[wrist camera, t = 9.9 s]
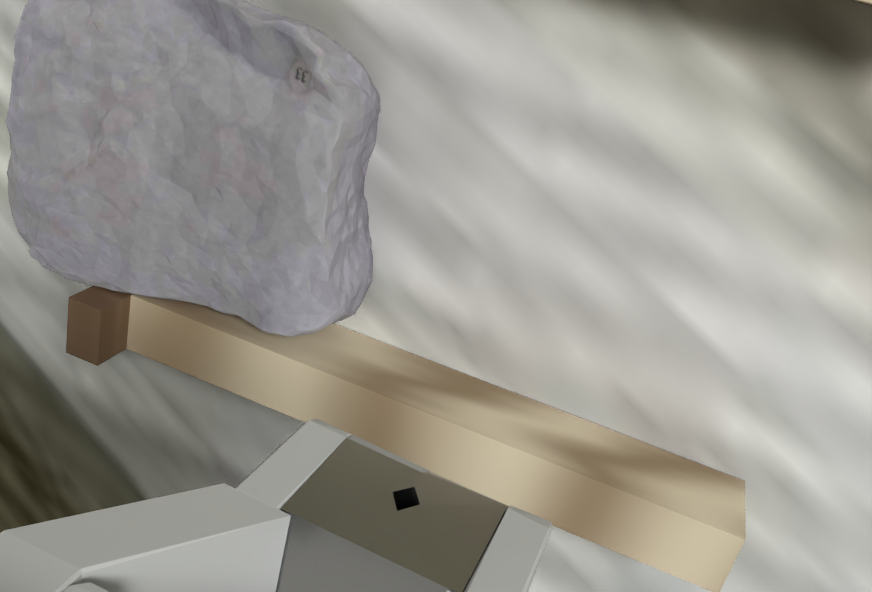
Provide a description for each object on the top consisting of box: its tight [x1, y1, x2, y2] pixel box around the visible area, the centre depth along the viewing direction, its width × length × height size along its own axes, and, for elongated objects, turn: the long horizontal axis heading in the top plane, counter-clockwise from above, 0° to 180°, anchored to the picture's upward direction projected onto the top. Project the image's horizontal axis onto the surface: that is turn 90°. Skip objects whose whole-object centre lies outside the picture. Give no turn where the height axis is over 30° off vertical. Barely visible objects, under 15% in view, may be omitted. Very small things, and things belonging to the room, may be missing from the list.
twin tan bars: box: [66, 0, 872, 592], centre depth 23 cm, size 21×18×4 cm
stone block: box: [6, 0, 380, 337], centre depth 26 cm, size 12×5×10 cm
